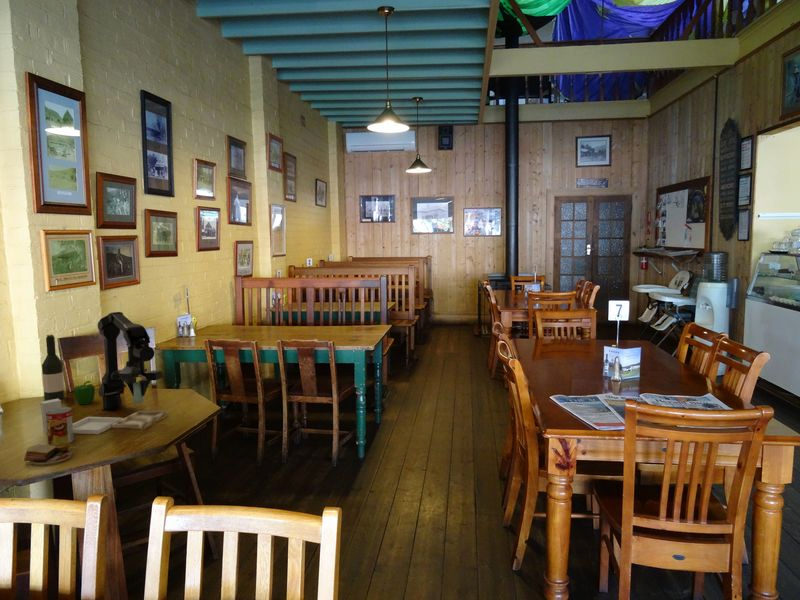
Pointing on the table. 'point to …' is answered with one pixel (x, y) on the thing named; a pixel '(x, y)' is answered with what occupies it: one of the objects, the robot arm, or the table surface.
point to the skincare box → (47, 406)
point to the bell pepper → (84, 393)
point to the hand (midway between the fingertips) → (138, 396)
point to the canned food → (59, 426)
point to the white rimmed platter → (94, 425)
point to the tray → (139, 419)
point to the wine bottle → (52, 373)
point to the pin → (137, 393)
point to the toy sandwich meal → (47, 454)
